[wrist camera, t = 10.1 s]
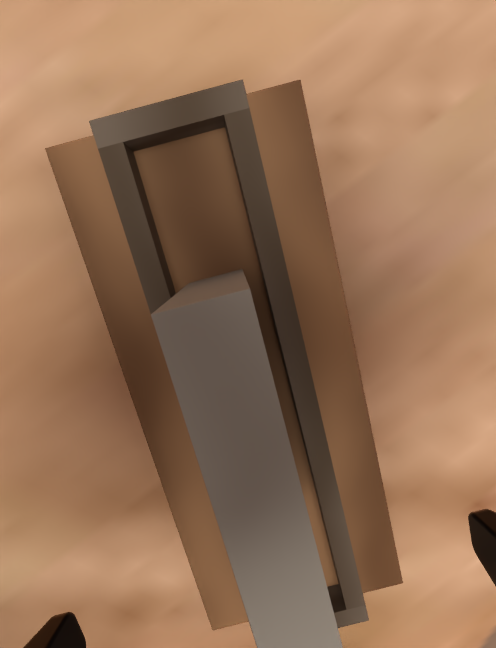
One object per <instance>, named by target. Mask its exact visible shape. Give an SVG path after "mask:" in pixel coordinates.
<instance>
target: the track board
mask: <svg viewBox="0 0 496 648" xmlns="http://www.w3.org/2000/svg"><path fill="white" fill-rule="evenodd" d="M89 123H90V126H91V129H92V132H93V136H90V137H86V138H82V139H78V140H75V141H71V142H67V143H64V144H60V145H56V146H52V147H49V148H45V149H46V152H47V155H48V158H49V161H50V164H51V167H52V170H53V172H54V175H55V178H56V181H57V184H58V187H59V190H60V193H61V195H62V198H63V201H64V204H65V207H66V210H67V213H68V216H69V218H70V221H71V224H72V227H73V230H74V233H75V236H76V239H77V241H78V244H79V247H80V250H81V253H82V256H83V259H84V262H85V264H86V267H87V270H88V273H89V276H90V279H91V282H92V285H93V287H94V290H95V293H96V296H97V299H98V302H99V305H100V308H101V310H102V313H103V316H104V319H105V322H106V325H107V328H108V331H109V333H110V336H111V339H112V342H113V345H114V348H115V351H116V354H117V356H118V359H119V362H120V365H121V368H122V371H123V374H124V377H125V379H126V382H127V385H128V388H129V391H130V394H131V397H132V400H133V402H134V405H135V408H136V411H137V414H138V417H139V420H140V423H141V426H142V428H143V431H144V434H145V437H146V440H147V443H148V446H149V449H150V451H151V454H152V457H153V460H154V463H155V466H156V469H157V472H158V474H159V477H160V480H161V483H162V486H163V489H164V492H165V495H166V497H167V500H168V503H169V506H170V509H171V512H172V515H173V518H174V520H175V523H176V526H177V529H178V532H179V535H180V538H181V541H182V543H183V546H184V549H185V552H186V555H187V558H188V561H189V564H190V566H191V569H192V572H193V575H194V578H195V581H196V584H197V587H198V589H199V592H200V595H201V598H202V601H203V604H204V607H205V610H206V612H207V615H208V618H209V621H210V624H211V627H212V630H216V629H220V628H224V627H228V626H232V625H236V624H240V623H244V622H249V619H248V616H247V613H246V610H245V607H244V603H243V600H242V597H241V594H240V591H239V588H238V585H237V582H236V579H235V575H234V572H233V569H232V566H231V563H230V560H229V557H228V554H227V550H226V547H225V544H224V541H223V538H222V535H221V532H220V529H219V526H218V522H217V519H216V516H215V513H214V510H213V507H212V504H211V501H210V497H209V494H208V491H207V488H206V485H205V482H204V479H203V476H202V473H201V469H200V466H199V463H198V460H197V457H196V454H195V451H194V448H193V444H192V441H191V438H190V435H189V432H188V429H187V426H186V423H185V420H184V416H183V413H182V410H181V407H180V404H179V401H178V398H177V395H176V391H175V388H174V385H173V382H172V379H171V376H170V373H169V370H168V367H167V363H166V360H165V357H164V354H163V351H162V348H161V345H160V342H159V338H158V335H157V332H156V329H155V326H154V323H153V320H152V317H151V314H152V313H153V312H155V311H156V310H157V309H158V308H159V307H161V306H162V305H163V304H164V303H165V302H167V301H168V300H169V299H170V298H172V297H173V296H174V295H175V294H176V293H178V292H179V291H180V290H181V289H182V288H184V287H185V286H186V285H187V284H189V283H191V282H195V281H199V280H202V279H206V278H210V277H214V276H218V275H221V274H225V273H229V272H233V271H237V270H240V269H242V270H243V272H244V275H245V277H246V280H247V282H248V285H249V287H250V291H251V295H252V298H253V302H254V306H255V310H256V314H257V318H258V322H259V326H260V329H261V333H262V337H263V341H264V345H265V349H266V353H267V357H268V360H269V364H270V368H271V372H272V376H273V380H274V384H275V387H276V391H277V395H278V399H279V403H280V407H281V411H282V415H283V418H284V422H285V426H286V430H287V434H288V438H289V442H290V445H291V449H292V453H293V457H294V461H295V465H296V469H297V473H298V476H299V480H300V484H301V488H302V492H303V496H304V500H305V503H306V507H307V511H308V515H309V519H310V523H311V527H312V531H313V534H314V538H315V542H316V546H317V550H318V554H319V558H320V561H321V565H322V569H323V573H324V577H325V581H326V585H327V589H328V592H329V596H330V600H331V604H332V608H333V612H334V616H335V619H336V623H337V627H338V628H340V627H344V626H348V625H352V624H356V623H360V622H364V621H368V620H369V618H368V614H367V610H366V605H365V601H364V597H363V593H365V592H369V591H373V590H377V589H381V588H385V587H389V586H393V585H397V584H401V583H403V581H402V576H401V571H400V566H399V561H398V557H397V552H396V547H395V542H394V537H393V532H392V527H391V522H390V517H389V512H388V507H387V503H386V498H385V493H384V488H383V483H382V478H381V473H380V468H379V463H378V458H377V453H376V449H375V444H374V439H373V434H372V429H371V424H370V419H369V414H368V409H367V404H366V399H365V395H364V390H363V385H362V380H361V375H360V370H359V365H358V360H357V355H356V350H355V345H354V341H353V336H352V331H351V326H350V321H349V316H348V311H347V306H346V301H345V296H344V291H343V287H342V282H341V277H340V272H339V267H338V262H337V257H336V252H335V247H334V242H333V237H332V233H331V228H330V223H329V218H328V213H327V208H326V203H325V198H324V193H323V188H322V183H321V178H320V174H319V169H318V164H317V159H316V154H315V149H314V144H313V139H312V134H311V129H310V124H309V120H308V115H307V110H306V105H305V100H304V95H303V90H302V85H301V80H297V81H293V82H290V83H286V84H282V85H278V86H275V87H271V88H267V89H264V90H260V91H256V92H252V93H249V94H246V91H245V87H244V82H243V80H239V81H235V82H231V83H228V84H224V85H220V86H217V87H213V88H209V89H206V90H202V91H198V92H194V93H191V94H187V95H183V96H180V97H176V98H172V99H169V100H165V101H161V102H158V103H154V104H150V105H146V106H143V107H139V108H135V109H132V110H128V111H124V112H121V113H117V114H113V115H109V116H106V117H102V118H98V119H95V120H91V121H89ZM249 623H250V622H249ZM250 626H251V625H250ZM251 629H252V628H251ZM252 633H253V632H252ZM253 636H254V635H253ZM254 639H255V638H254ZM255 642H256V641H255ZM256 645H257V644H256ZM257 648H258V647H257Z"/></svg>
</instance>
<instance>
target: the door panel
mask: <svg viewBox="0 0 496 648" xmlns="http://www.w3.org/2000/svg"><path fill="white" fill-rule="evenodd" d="M151 317H152V320H153V323H154V326H155V329H156V332H157V335H158V338H159V342H160V345H161V348H162V351H163V354H164V357H165V360H166V363H167V367H168V370H169V373H170V376H171V379H172V382H173V385H174V388H175V391H176V395H177V398H178V401H179V404H180V407H181V410H182V413H183V416H184V420H185V423H186V426H187V429H188V432H189V435H190V438H191V441H192V444H193V448H194V451H195V454H196V457H197V460H198V463H199V466H200V469H201V473H202V476H203V479H204V482H205V485H206V488H207V491H208V494H209V497H210V501H211V504H212V507H213V510H214V513H215V516H216V519H217V522H218V526H219V529H220V532H221V535H222V538H223V541H224V544H225V547H226V550H227V554H228V557H229V560H230V563H231V566H232V569H233V572H234V575H235V579H236V582H237V585H238V588H239V591H240V594H241V597H242V600H243V603H244V607H245V610H246V613H247V616H248V619H249V622H250V625H251V628H252V632H253V635H254V638H255V641H256V644H257V647H258V648H343V647H342V643H341V639H340V635H339V631H338V627H337V623H336V619H335V616H334V612H333V608H332V604H331V600H330V596H329V592H328V589H327V585H326V581H325V577H324V573H323V569H322V565H321V561H320V558H319V554H318V550H317V546H316V542H315V538H314V534H313V531H312V527H311V523H310V519H309V515H308V511H307V507H306V503H305V500H304V496H303V492H302V488H301V484H300V480H299V476H298V473H297V469H296V465H295V461H294V457H293V453H292V449H291V445H290V442H289V438H288V434H287V430H286V426H285V422H284V418H283V415H282V411H281V407H280V403H279V399H278V395H277V391H276V387H275V384H274V380H273V376H272V372H271V368H270V364H269V360H268V357H267V353H266V349H265V345H264V341H263V337H262V333H261V329H260V326H259V322H258V318H257V314H256V310H255V306H254V302H253V298H252V295H251V291H250V287H249V285H248V282H247V280H246V277H245V275H244V272H243V270H242V269H240V270H237V271H233V272H229V273H225V274H221V275H218V276H214V277H210V278H206V279H202V280H199V281H195V282H191V283H189V284H187V285H186V286H185V287H184V288H182V289H181V290H180V291H179V292H178V293H176V294H175V295H174V296H173V297H172V298H170V299H169V300H168V301H167V302H165V303H164V304H163V305H162V306H161V307H159V308H158V309H157V310H156V311H155V312H153V313H152V314H151Z"/></svg>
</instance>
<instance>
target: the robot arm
mask: <svg viewBox="0 0 496 648" xmlns="http://www.w3.org/2000/svg"><path fill="white" fill-rule="evenodd" d="M468 520H469V526H470V533H471V540H472V545H473V548H474V551H475V553H476V555H477V557H478V558H479V560H480V562H481V563H482V565H483V566H484V568H485V570H486V571H487V573H488V575H489V576H490V578H491V579H492V581H493V583H494V584H495V586H496V512H494V511H492V510H489V509H483V510H479V511H475V512H471V513H470V514H469V516H468ZM24 648H86V641H85V637H84V635H83V633H82V630H81V628H80V626H79V624H78V621H77V619H76V617H75V615H74V614H73V613H72V612H67V613H63V614H59V615H55V616H53V617H52V618H51V619H50V620H49V621H48V622H47V623H46V624H45V625H44V626H43V627H42V628H41V629H40V630H39V631H38V632H37V634H36V635H35V636H34V637H33V638H32V639H31V640H30V641H29V642H28V643H27V644H26V646H25V647H24Z"/></svg>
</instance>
